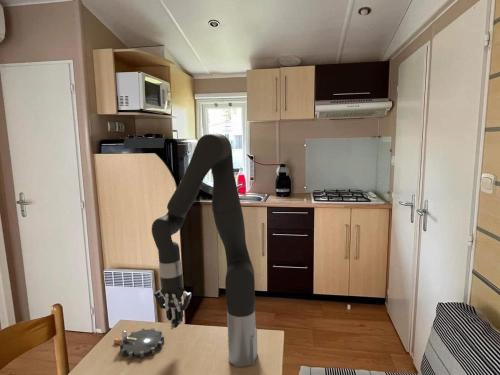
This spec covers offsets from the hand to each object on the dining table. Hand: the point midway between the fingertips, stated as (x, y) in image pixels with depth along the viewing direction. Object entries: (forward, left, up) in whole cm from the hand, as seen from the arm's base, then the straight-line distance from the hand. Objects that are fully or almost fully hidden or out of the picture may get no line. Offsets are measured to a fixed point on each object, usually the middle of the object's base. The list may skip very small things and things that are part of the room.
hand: (175, 319), depth 109 cm
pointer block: (+23, +1, -11) cm, 26 cm away
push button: (0, 0, -2) cm, 2 cm away
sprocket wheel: (+13, +1, -11) cm, 17 cm away
